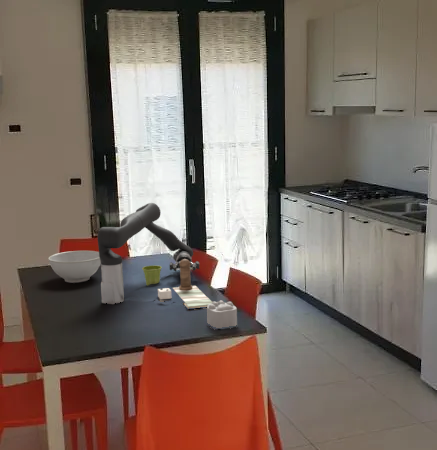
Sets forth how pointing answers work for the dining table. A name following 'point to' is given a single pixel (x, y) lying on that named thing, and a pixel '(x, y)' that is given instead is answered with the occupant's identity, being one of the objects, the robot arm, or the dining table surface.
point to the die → (164, 294)
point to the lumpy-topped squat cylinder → (221, 314)
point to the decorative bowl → (75, 265)
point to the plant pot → (152, 274)
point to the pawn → (185, 275)
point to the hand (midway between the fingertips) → (184, 269)
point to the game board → (193, 297)
